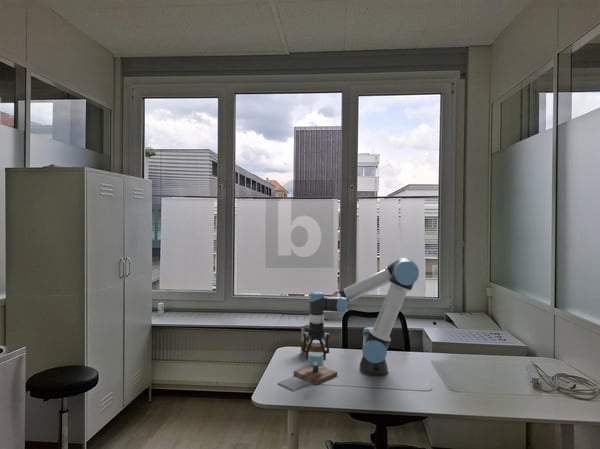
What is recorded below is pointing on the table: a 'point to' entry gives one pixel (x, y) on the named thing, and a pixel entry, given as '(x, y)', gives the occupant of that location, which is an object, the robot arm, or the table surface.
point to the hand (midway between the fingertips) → (315, 365)
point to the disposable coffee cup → (316, 346)
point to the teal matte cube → (315, 359)
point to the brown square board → (315, 374)
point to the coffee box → (303, 329)
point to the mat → (293, 383)
